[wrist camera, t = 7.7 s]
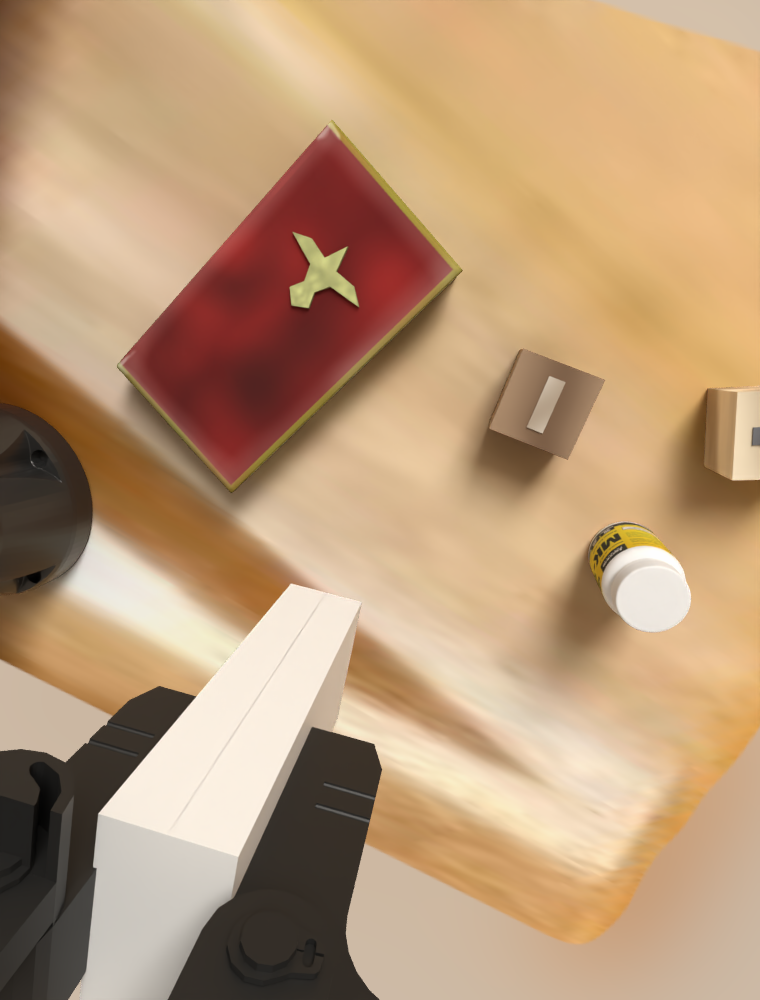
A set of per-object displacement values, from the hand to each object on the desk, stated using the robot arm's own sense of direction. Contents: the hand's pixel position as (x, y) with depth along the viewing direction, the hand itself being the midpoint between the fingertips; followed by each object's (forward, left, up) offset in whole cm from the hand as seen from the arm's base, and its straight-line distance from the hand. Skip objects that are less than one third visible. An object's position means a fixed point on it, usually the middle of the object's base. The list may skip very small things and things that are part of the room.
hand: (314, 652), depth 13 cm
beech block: (+19, +6, -31) cm, 37 cm away
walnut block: (+6, +5, -31) cm, 32 cm away
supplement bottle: (+14, -4, -32) cm, 35 cm away
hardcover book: (-12, +6, -32) cm, 35 cm away
